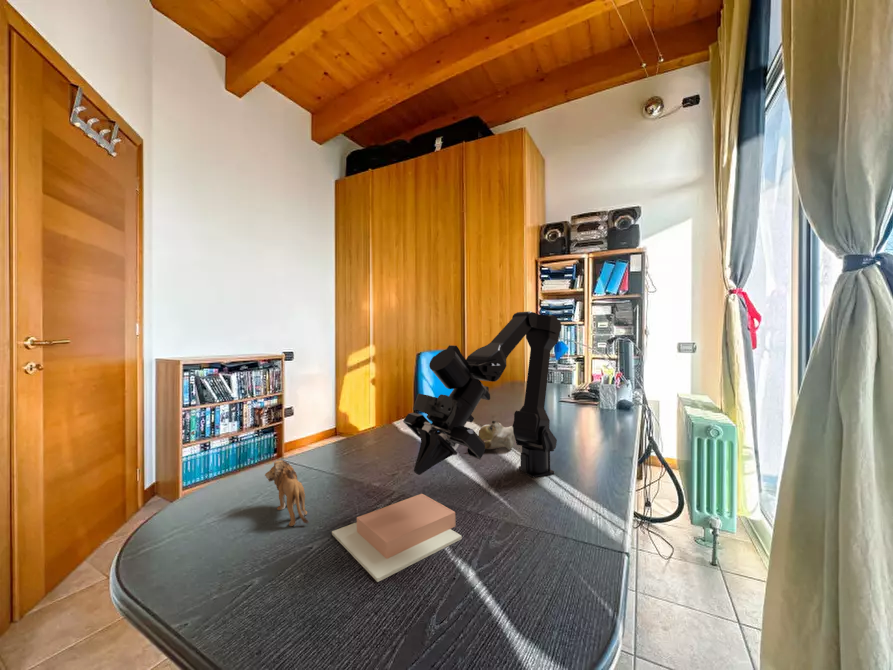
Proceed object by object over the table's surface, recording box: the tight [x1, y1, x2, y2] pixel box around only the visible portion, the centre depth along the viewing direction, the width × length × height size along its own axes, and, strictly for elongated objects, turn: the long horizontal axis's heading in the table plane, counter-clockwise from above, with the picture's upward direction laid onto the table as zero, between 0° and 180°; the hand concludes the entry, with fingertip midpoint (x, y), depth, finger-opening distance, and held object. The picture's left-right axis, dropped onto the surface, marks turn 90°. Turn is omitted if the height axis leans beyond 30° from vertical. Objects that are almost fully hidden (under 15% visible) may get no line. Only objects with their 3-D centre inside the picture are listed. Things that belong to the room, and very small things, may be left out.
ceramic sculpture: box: [478, 420, 516, 451], centre depth 108 cm, size 11×9×15 cm
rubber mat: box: [331, 521, 463, 583], centre depth 61 cm, size 16×16×1 cm
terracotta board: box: [356, 493, 456, 559], centre depth 63 cm, size 2×10×14 cm
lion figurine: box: [264, 459, 310, 527], centre depth 70 cm, size 15×5×9 cm, turn 47°
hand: (416, 473), depth 64 cm, fingers closed
